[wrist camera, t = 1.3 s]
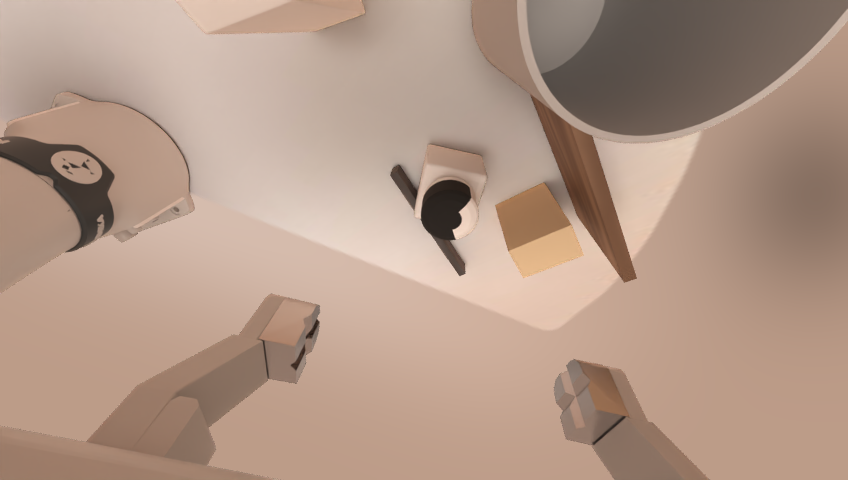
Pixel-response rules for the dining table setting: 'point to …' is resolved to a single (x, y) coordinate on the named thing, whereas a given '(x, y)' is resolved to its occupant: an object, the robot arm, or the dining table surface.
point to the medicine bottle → (450, 192)
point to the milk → (269, 15)
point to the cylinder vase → (652, 57)
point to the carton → (537, 231)
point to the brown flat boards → (582, 185)
